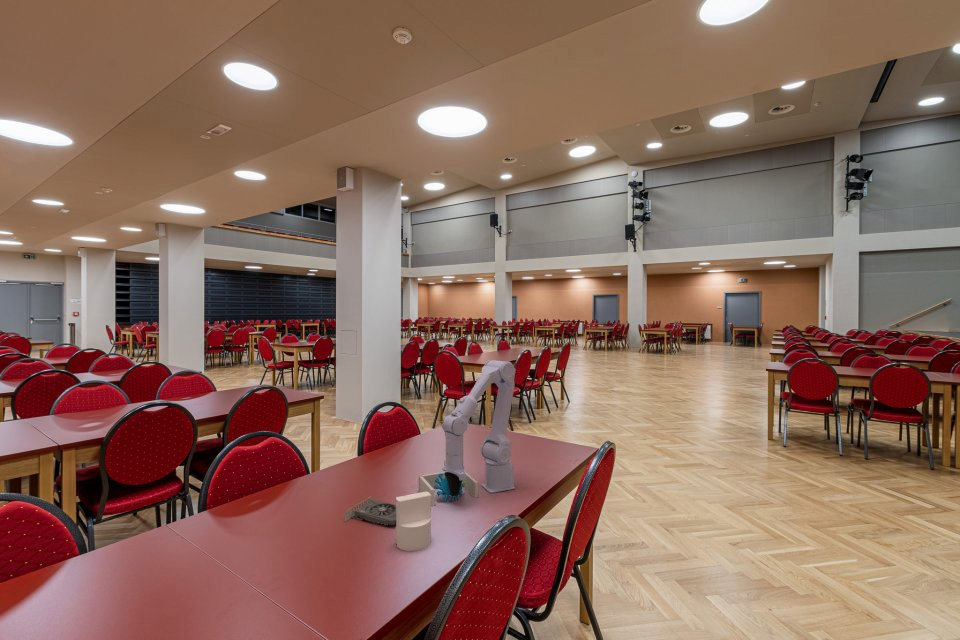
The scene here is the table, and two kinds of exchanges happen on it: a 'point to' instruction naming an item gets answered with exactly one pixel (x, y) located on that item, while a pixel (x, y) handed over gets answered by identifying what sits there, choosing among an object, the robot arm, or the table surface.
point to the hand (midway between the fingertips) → (454, 495)
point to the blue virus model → (446, 488)
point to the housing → (429, 482)
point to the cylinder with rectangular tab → (413, 521)
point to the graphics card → (373, 512)
